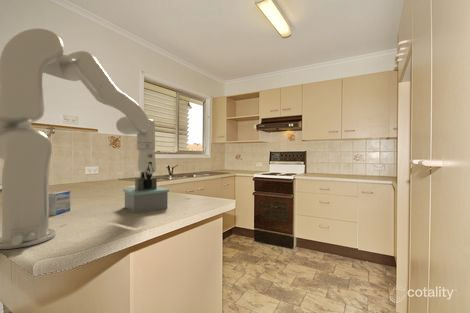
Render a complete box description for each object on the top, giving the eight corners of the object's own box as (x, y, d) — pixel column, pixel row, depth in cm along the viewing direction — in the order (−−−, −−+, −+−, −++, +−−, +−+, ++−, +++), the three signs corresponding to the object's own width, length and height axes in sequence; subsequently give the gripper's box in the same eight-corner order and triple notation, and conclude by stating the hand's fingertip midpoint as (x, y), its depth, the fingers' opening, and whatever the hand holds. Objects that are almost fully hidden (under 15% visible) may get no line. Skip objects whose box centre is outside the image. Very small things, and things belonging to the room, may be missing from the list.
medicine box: (55, 215, 87) (55, 193, 87) (44, 215, 87) (44, 193, 87) (70, 210, 95) (70, 190, 95) (60, 210, 95) (60, 190, 95)
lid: (169, 194, 97) (169, 178, 97) (133, 198, 87) (133, 180, 87) (156, 189, 108) (156, 175, 108) (123, 193, 98) (123, 177, 98)
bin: (167, 209, 97) (167, 191, 97) (134, 215, 88) (134, 195, 88) (155, 204, 108) (155, 188, 108) (124, 208, 98) (124, 191, 98)
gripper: (161, 146, 94) (161, 189, 94) (148, 147, 106) (147, 185, 106) (143, 146, 89) (143, 191, 89) (131, 147, 101) (131, 186, 102)
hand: (145, 187), depth 98 cm, fingers closed on lid, 4 cm apart
